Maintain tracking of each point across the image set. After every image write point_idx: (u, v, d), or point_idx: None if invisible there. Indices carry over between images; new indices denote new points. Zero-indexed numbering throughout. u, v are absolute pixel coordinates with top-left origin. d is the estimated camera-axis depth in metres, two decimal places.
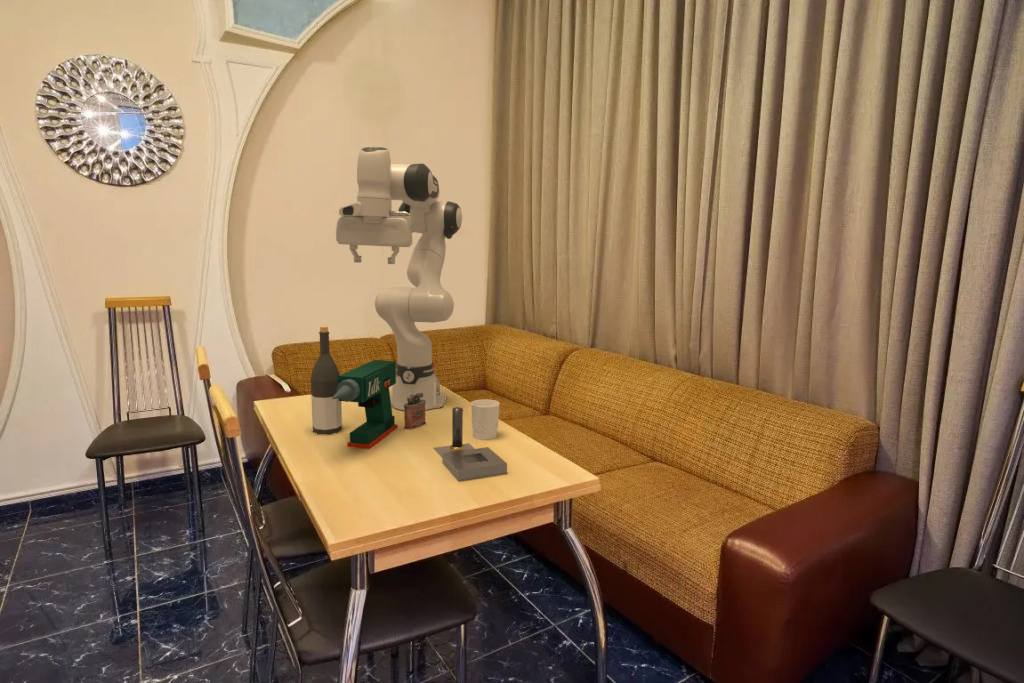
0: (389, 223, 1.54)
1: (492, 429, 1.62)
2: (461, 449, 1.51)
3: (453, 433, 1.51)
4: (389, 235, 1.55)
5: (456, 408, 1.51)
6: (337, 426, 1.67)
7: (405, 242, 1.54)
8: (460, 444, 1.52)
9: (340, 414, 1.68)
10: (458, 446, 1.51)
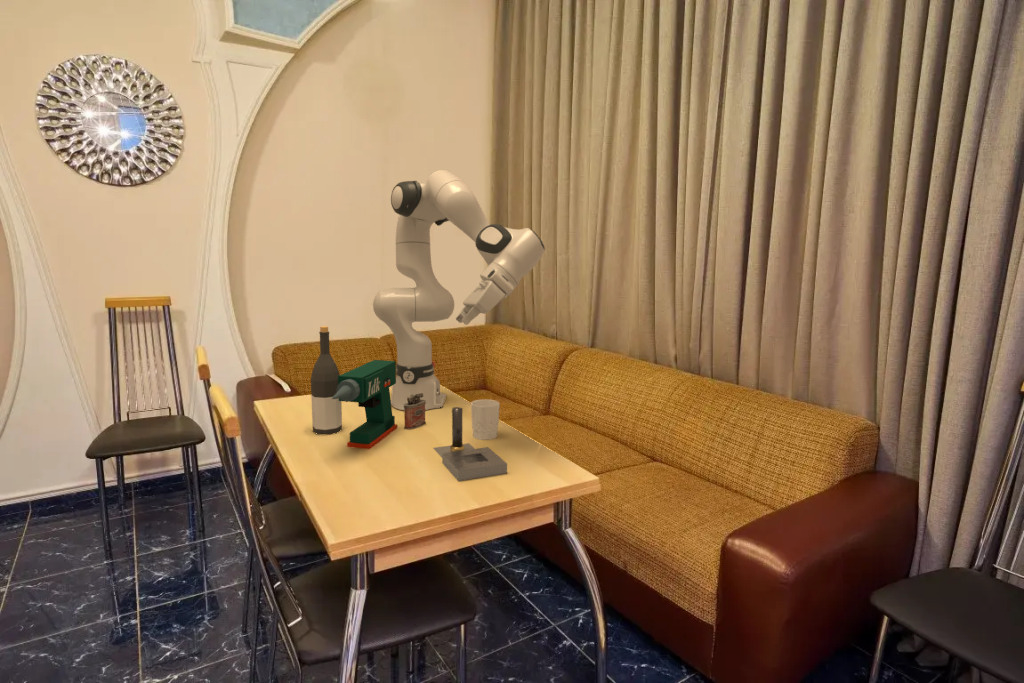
0: None
1: (492, 429, 1.62)
2: (461, 449, 1.51)
3: (453, 433, 1.51)
4: None
5: (456, 408, 1.51)
6: (337, 426, 1.67)
7: None
8: (460, 444, 1.52)
9: (340, 414, 1.68)
10: (458, 446, 1.51)
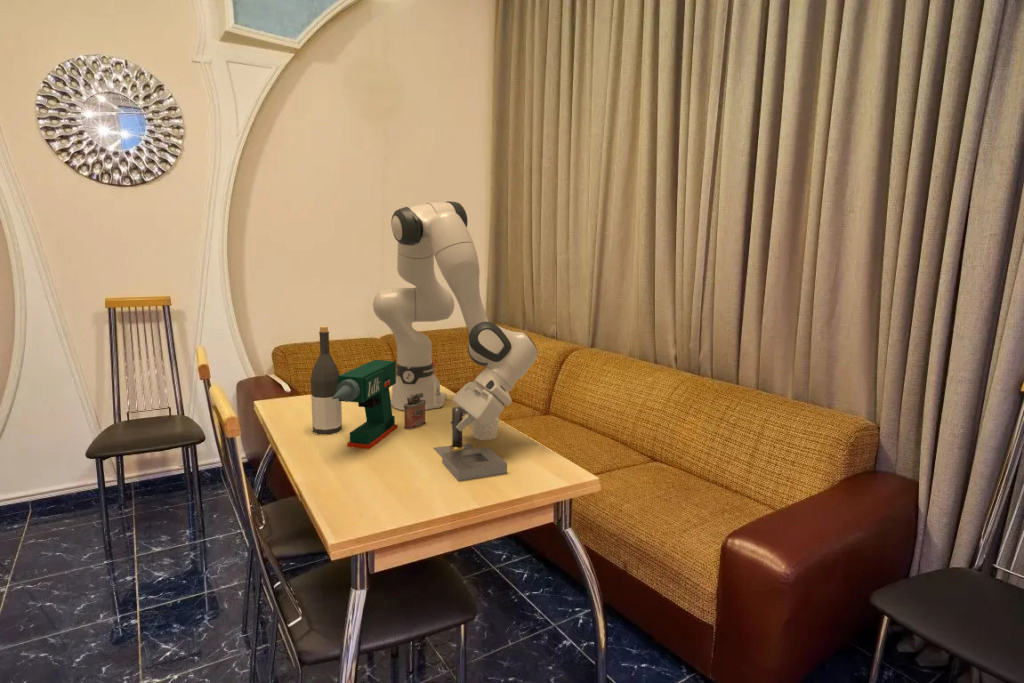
0: None
1: (492, 429, 1.62)
2: (461, 449, 1.51)
3: (453, 433, 1.51)
4: None
5: (456, 408, 1.51)
6: (337, 426, 1.67)
7: None
8: (460, 444, 1.52)
9: (340, 414, 1.68)
10: (458, 446, 1.51)
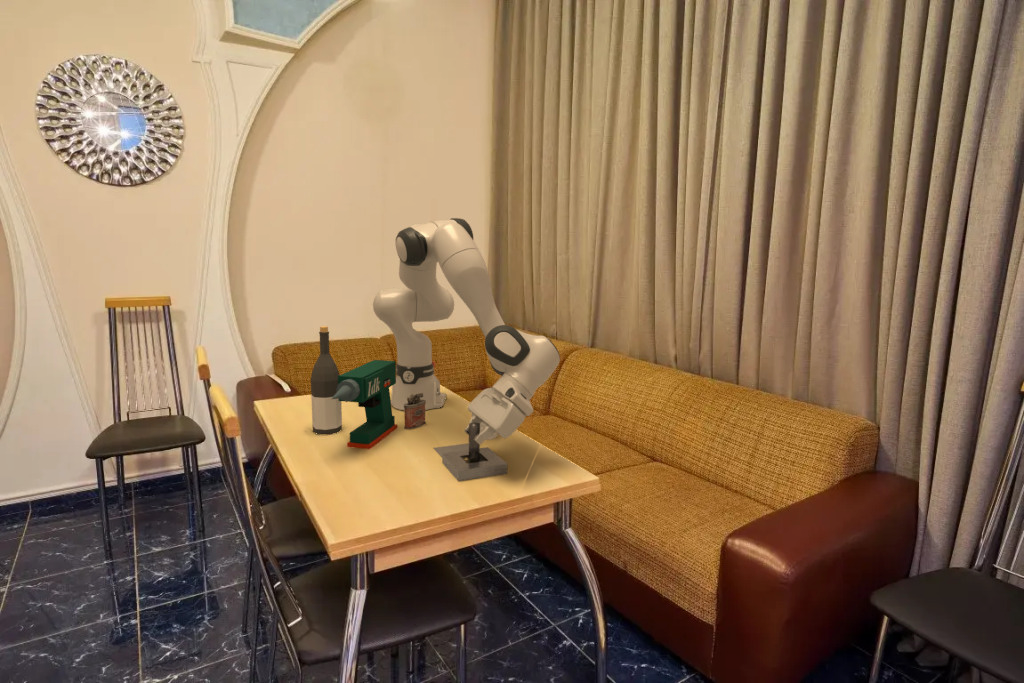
0: None
1: None
2: None
3: (470, 450, 1.40)
4: None
5: (473, 423, 1.40)
6: (337, 426, 1.67)
7: None
8: None
9: (340, 414, 1.68)
10: None
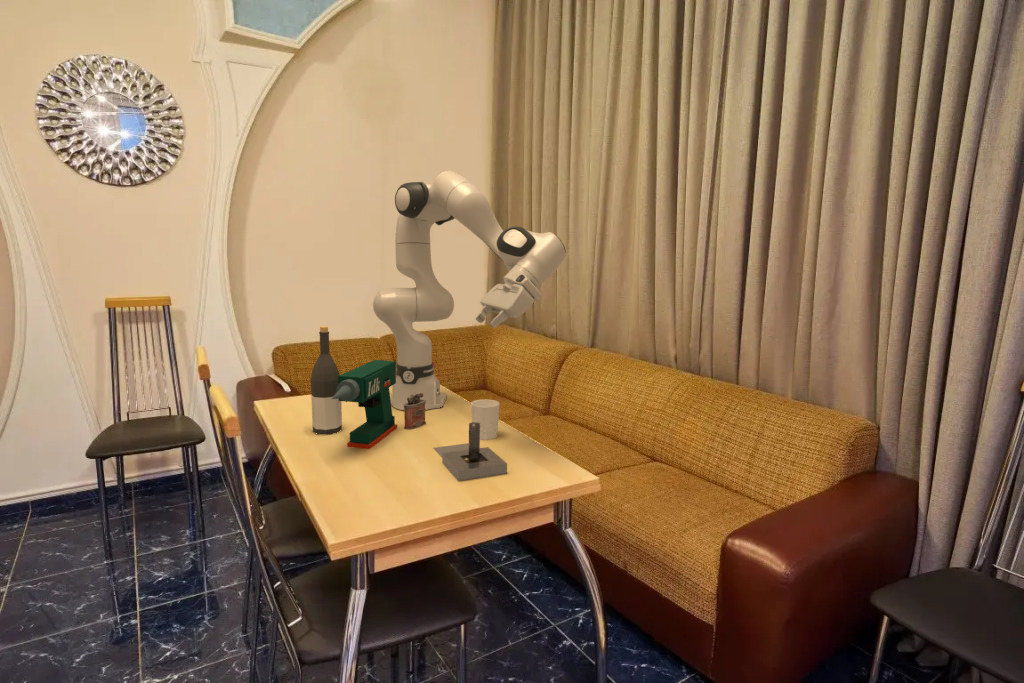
0: None
1: (492, 429, 1.62)
2: None
3: (470, 450, 1.40)
4: None
5: (473, 423, 1.40)
6: (337, 426, 1.67)
7: None
8: None
9: (340, 414, 1.68)
10: None
